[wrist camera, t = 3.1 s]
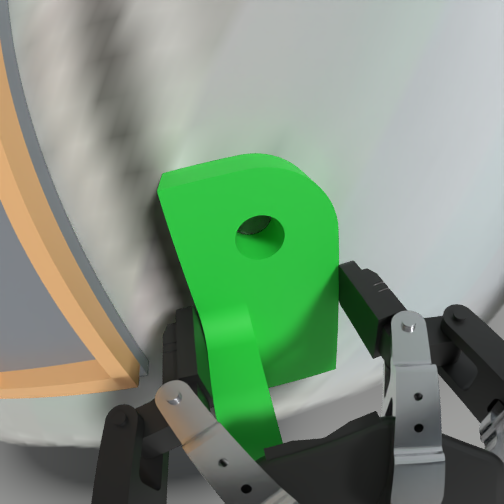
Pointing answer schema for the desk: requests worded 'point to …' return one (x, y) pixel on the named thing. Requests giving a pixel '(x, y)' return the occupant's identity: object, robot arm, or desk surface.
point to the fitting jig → (48, 273)
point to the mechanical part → (256, 281)
